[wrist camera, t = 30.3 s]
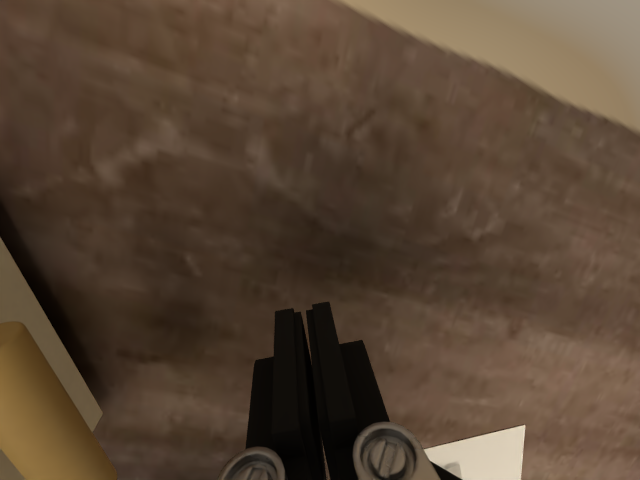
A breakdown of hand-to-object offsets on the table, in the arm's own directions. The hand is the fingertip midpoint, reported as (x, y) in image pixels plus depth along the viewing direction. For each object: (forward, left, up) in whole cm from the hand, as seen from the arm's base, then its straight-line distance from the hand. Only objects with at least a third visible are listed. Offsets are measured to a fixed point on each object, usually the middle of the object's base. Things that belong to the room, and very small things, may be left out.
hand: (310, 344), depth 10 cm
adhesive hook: (-19, -8, -6) cm, 22 cm away
